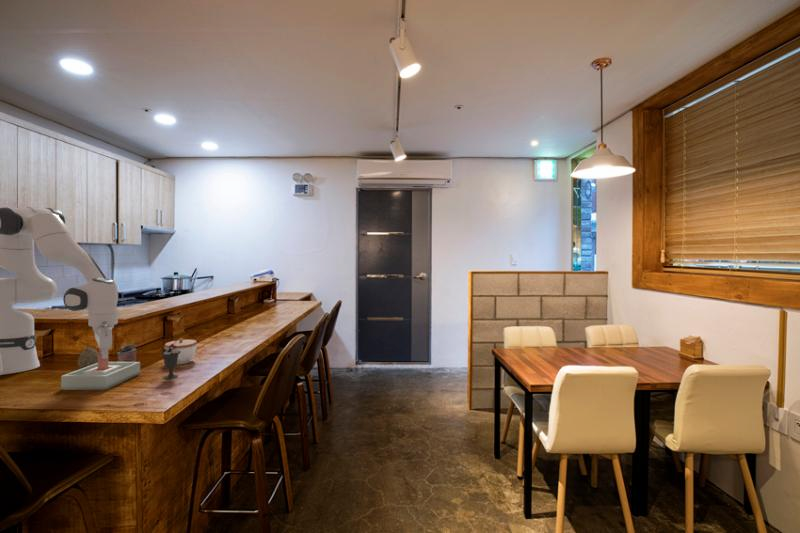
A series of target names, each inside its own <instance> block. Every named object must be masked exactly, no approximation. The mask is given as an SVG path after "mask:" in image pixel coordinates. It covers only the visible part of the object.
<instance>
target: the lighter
mask: <svg viewBox="0 0 800 533" xmlns="http://www.w3.org/2000/svg"><path fill="white" fill-rule="evenodd" d="M135 346H136V344H135V343H130V344H126V345H125V344H124V345H123V346H120V347H119V349H120V351H119V352H116V355H117V362H137V348H135Z"/></svg>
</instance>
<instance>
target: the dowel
mask: <svg viewBox="0 0 800 533" xmlns="http://www.w3.org/2000/svg"><path fill="white" fill-rule="evenodd" d="M97 353H98V370H107V369H108V362H109V357H108V358H105V359H102V352H101V353H100V352H97Z"/></svg>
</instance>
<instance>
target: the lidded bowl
mask: <svg viewBox="0 0 800 533" xmlns="http://www.w3.org/2000/svg"><path fill="white" fill-rule="evenodd" d="M175 342H176V343H175ZM171 344H174V346H177V347H176V348H177V349H178V350H179V351H180V353H179V355H178V360H177V365H183V364H184V365H185V364H187V363H190V362H191V360H192V359H193V358H194V357H195V356H196V352H197V344H198V342H197V340H196V339H183V338H182V337H181V338H179V339H177V341H176V340H173V341H172V340H171V341H169V342H166V343H164V348H165V349H166V348H167V347H168V346H171Z"/></svg>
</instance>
